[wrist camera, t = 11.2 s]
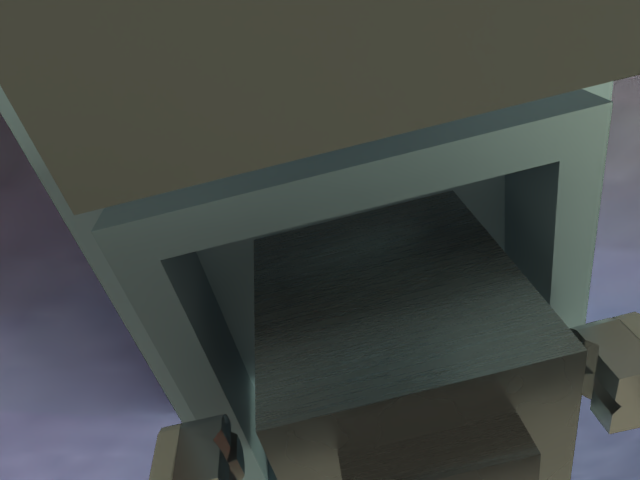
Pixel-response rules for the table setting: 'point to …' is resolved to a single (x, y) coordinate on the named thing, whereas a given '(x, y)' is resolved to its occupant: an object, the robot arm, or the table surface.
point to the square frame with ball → (279, 78)
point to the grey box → (409, 353)
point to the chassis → (325, 205)
